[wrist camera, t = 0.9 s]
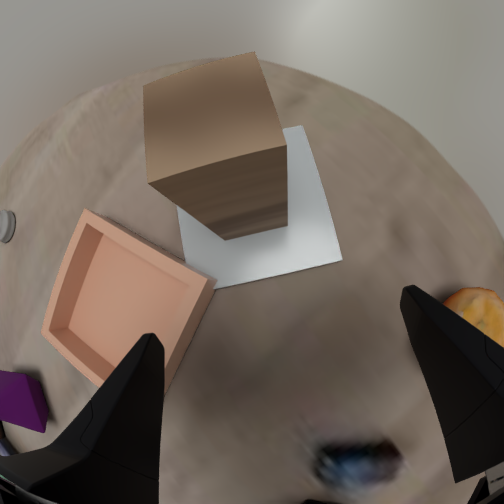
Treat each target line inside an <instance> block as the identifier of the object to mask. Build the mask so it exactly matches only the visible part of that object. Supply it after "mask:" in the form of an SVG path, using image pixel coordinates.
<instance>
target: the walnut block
mask: <svg viewBox="0 0 504 504" xmlns="http://www.w3.org/2000/svg"><path fill="white" fill-rule="evenodd" d="M143 99H144V136H145V154H146V169H147V181H148V184H149V185H151V186H152V187H153V188H155V189H156V190H157V191H159V192H160V193H161V194H163V195H164V196H165V197H167V198H168V199H169V200H171V201H172V202H173V203H175V204H176V205H177V206H179V207H180V208H181V209H183V210H184V211H186V212H187V213H188V214H190V215H191V216H192V217H194V218H195V219H196V220H198V221H199V222H200V223H202V224H203V225H204V226H206V227H207V228H208V229H210V230H211V231H212V232H214V233H215V234H217V235H218V236H219V237H221V238H222V239H223V240H225V241H226V240H230V239H235V238H239V237H243V236H247V235H251V234H256V233H260V232H264V231H268V230H273V229H277V228H281V227H286V226H288V171H287V143H286V140H285V137H284V134H283V131H282V128H281V124H280V121H279V118H278V115H277V112H276V109H275V106H274V104H273V101H272V98H271V95H270V92H269V89H268V86H267V84H266V81H265V78H264V75H263V73H262V70H261V67H260V64H259V62H258V59H257V57H256V54H255V52H250V53H246V54H241V55H237V56H233V57H229V58H225V59H221V60H217V61H213V62H210V63H206V64H203V65H200V66H196V67H193V68H190V69H187V70H184V71H181V72H178V73H175V74H172V75H170V76H167V77H164V78H162V79H159V80H156V81H154V82H151V83H149V84H146V85H144V86H143Z"/></svg>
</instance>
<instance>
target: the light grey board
mask: <svg viewBox="0 0 504 504" xmlns="http://www.w3.org/2000/svg"><path fill="white" fill-rule="evenodd" d="M282 131H283V134H284V137H285V140H286V143H287V171H288V226H286V227H281V228H277V229H273V230H268V231H264V232H260V233H256V234H251V235H247V236H243V237H239V238H235V239H230V240H226V241H225V240H223V239H222V238H221V237H219V236H218V235H217V234H215V233H214V232H212V231H211V230H210V229H208V228H207V227H206V226H204V225H203V224H202V223H200V222H199V221H198V220H196V219H195V218H194V217H192V216H191V215H190V214H188V213H187V212H186V211H184V210H183V209H181V208H180V207H179V206H177V212H178V218H179V225H180V231H181V237H182V243H183V249H184V255H185V261H186V263H187V264H189V265H190V266H192V267H194V268H196V269H198V270H200V271H202V272H203V273H205V274H207V275H209V276H211V277H213V278H215V279H217V282H216V284H215V286H214V288H213V289H220V288H225V287H229V286H234V285H239V284H243V283H248V282H252V281H257V280H261V279H266V278H270V277H275V276H279V275H284V274H288V273H292V272H297V271H301V270H305V269H309V268H314V267H318V266H322V265H326V264H330V263H334V262H338V261H341V260H342V256H341V252H340V248H339V244H338V240H337V236H336V232H335V228H334V225H333V221H332V217H331V214H330V210H329V207H328V203H327V200H326V196H325V193H324V190H323V186H322V183H321V180H320V177H319V173H318V170H317V167H316V164H315V161H314V158H313V155H312V152H311V149H310V146H309V143H308V140H307V137H306V134H305V132H304V129H303V126H302V125H301V126H296V127H290V128H285V129H282Z"/></svg>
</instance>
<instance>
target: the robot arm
mask: <svg viewBox="0 0 504 504" xmlns="http://www.w3.org/2000/svg"><path fill="white" fill-rule="evenodd" d="M400 309H401V312H402V315H403V318H404V322H405V325H406V328H407V331H408V335H409V338H410V341H411V345H412V347H413V350H414V352H415V355H416V357H417V360H418V362H419V365H420V367H421V370H422V373H423V375H424V378H425V381H426V384H427V386H428V389H429V392H430V395H431V398H432V401H433V404H434V407H435V410H436V413H437V416H438V419H439V422H440V426H441V429H442V432H443V436H444V438H445V439H444V440H445V444H446V447H447V451H448V455H449V459H450V463H451V468H452V472H453V477H454V481H455V483H458V482H460V481H463V480H465V479H468V478H470V477H473V476H475V475H477V474H480V473H482V472H484V471H485V474H486V476H484V477H483V478H481V479H480V480H479V482H478V484H477V486H476V488H475V490H474V492H473V494H472V496H471V498H470V500H469V501H468V503H467V504H504V347H502V346H501V345H499V344H498V343H497V342H495V341H494V340H493V339H491V338H490V337H489V336H487V335H486V334H485V335H484V333H483V332H482V331H480V330H479V329H478V328H476V327H475V326H473V325H472V324H471V323H469V322H468V321H467V320H465V319H464V318H462V317H461V316H460V315H458V314H457V313H455V312H454V311H452V310H451V309H450V308H448V307H447V306H445V305H444V304H442V303H441V302H439V301H438V300H436V299H435V298H433V297H432V296H430V295H429V294H427V293H426V292H424V291H423V290H421V289H420V288H418V287H417V286H415V285H409V286H406V287H404V288H403V290H402V295H401V300H400ZM164 390H165V349H164V346H163V344H162V343H161V341H160V340H159V339H158V337H157V336H156V334H155V333H145V334H143V335H142V336H141V337H140V338H139V340H138V341H137V342H136V343H135V344H134V346H133V347H132V348H131V349H130V351H129V352H128V353H127V354H126V355H125V357H124V358H123V359H122V360H121V362H120V363H119V364H118V365H117V367H116V368H115V369H114V370H113V372H112V373H111V374H110V375H109V377H108V378H107V379H106V380H105V382H104V383H103V384H102V385H101V387H100V388H99V389H98V390H97V392H96V393H95V394H94V395H93V397H92V398H91V400H90V401H89V402H88V403H87V404H86V406H85V407H84V408H83V409H82V411H81V412H80V413H79V414H78V415H77V417H76V418H75V419H74V420H73V421H72V422H71V423H70V424H69V426H68V427H67V428H66V429H65V430H64V431H63V432H62V433H61V434H60V435H59V436H58V437H57V438H56V440H55V441H54V442H53V443H51V444H50V445H48V446H47V447H44V448H41V449H38V450H34V451H30V452H26V453H21V454H17V455H12V456H1V455H0V474H1V475H2V476H4V477H5V478H7V479H8V480H10V481H11V482H12V483H11V482H9V481H7V480H5V479H3V478H1V477H0V504H159V460H160V441H161V426H162V413H163V401H164ZM13 483H14V484H13ZM303 504H326V503H321V502H317V501H313V500H307V501H305V502H304V503H303Z"/></svg>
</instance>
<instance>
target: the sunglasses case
mask: <svg viewBox="0 0 504 504" xmlns="http://www.w3.org/2000/svg"><path fill="white" fill-rule="evenodd" d="M4 437H5V435H4V432H3V430H2V426H1V423H0V439H3V438H4Z"/></svg>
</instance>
